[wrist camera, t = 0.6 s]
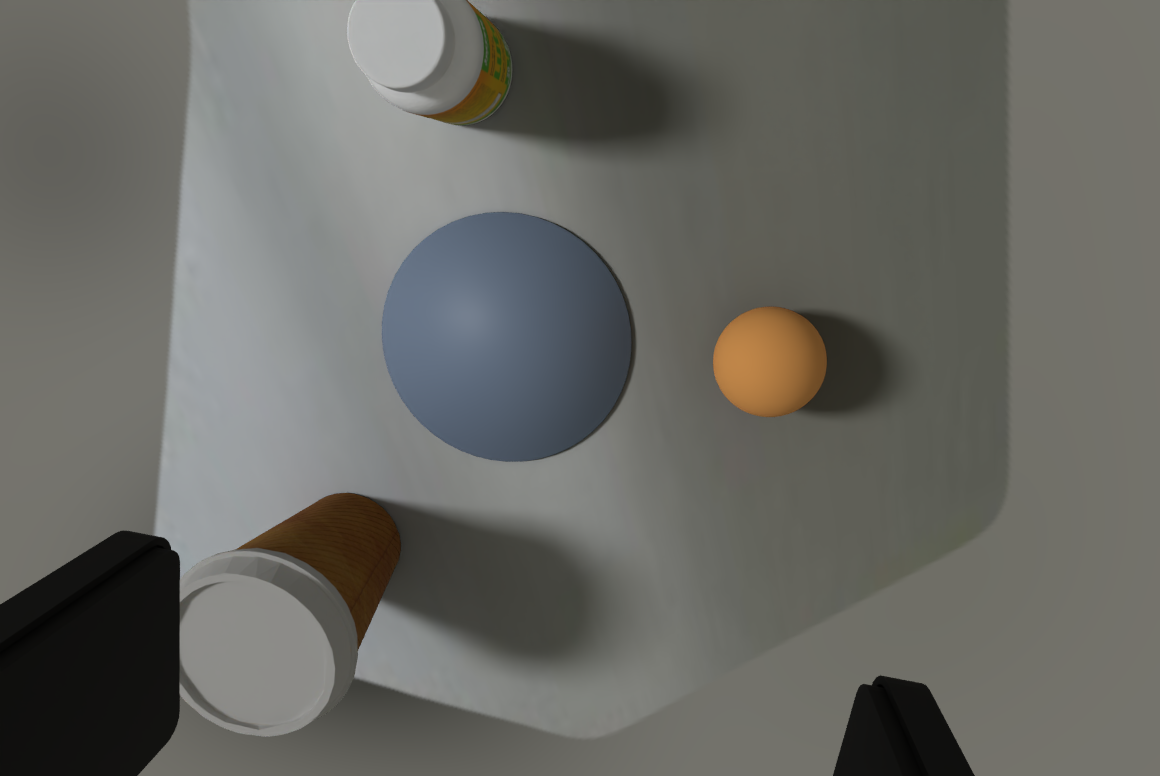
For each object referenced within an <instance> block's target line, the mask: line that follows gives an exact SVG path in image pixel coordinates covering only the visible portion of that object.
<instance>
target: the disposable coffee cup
mask: <svg viewBox="0 0 1160 776" xmlns="http://www.w3.org/2000/svg"><path fill="white" fill-rule="evenodd" d="M400 551H401V542H400V536H399V532H398V530H397V528H396V525H395V523H394V521H393V520H392V518H391V517H390V515H389V514H388V513H387V512H386V511H385V510H384V509H383V508H382V507H381V506H379V505H378V504H377V503H376V502H374V501H372V500H370V499H368V498H366V497H363V496H360V495H357V494H351V493H339V494H333V495H330V496H326V497H324V498H322V499H320V500H319V501H317V502H316V503H314V504H312V505H311V506H309V507H307V508H306V509H304V510H302V511H300V512H299V513H297V514H295V515H294V516H292V517H290V518H288V519H287V520H285V521H283V522H282V523H280V524H278V525H276V526H275V527H273V528H271V529H270V530H268V531H266V532H265V533H263V534H261V535H259V536H258V537H256V538H254V539H253V540H251V541H249V542H248V543H246V544H244V545H242V546H241V547H239V548H238V549H236V550H232V551H227V552H223V553H218V554H216V555H213V556H211V557H209V558H207V559H204V560H202V561H201V562H199V563H197V564H196V565H195V566H194V567H192V568H191V569H190V570H189V571H188V572H186V573H185V574H184V575H183V577H182V578H181V579H180V695H181V696H182V698H183V699H184V700H185V701H186V702H187V703H188V704H189V705H190V706H191V707H193V708H194V709H195V710H196V711H197V712H198V713H200V714H201V715H202V716H203V717H204V718H206V719H208V720H210V721H212V722H213V723H215V724H217V725H219V726H221V727H223V728H225V729H228V730H231V731H234V732H237V733H240V734H249V735H257V736H266V737H268V736H275V735H283V734H287V733H290V732H292V731H295V730H298V729H300V728H302V727H303V726H305V725H307V724H308V723H310V722H311V721H313V720H315V719H318V718H320V717H322V716H323V715H325V714H327V713H328V712H329V711H330V710H332V709H333V708H334V707H335V706H336V705H337V704H338V703H339V702H340V700H341V699H342V698H343V697H344V696H345V695H346V692H347V690H348V688H349V686H350V684H351V682H352V680H353V677H354V675H355V669H356V663H357V657H358V649H359V647H360V645H361V642H362V640H363V638H364V636H365V633H366V631H367V629H368V627H369V624H370V622H371V620H372V618H373V615H374V613H375V611H376V609H377V607H378V604H379V602H380V600H381V598H382V595H383V593H384V591H385V589H386V586H387V584H388V582H389V580H390V578H391V575H392V573H393V571H394V568H395V566H396V565H397V563H398V560H399V555H400Z"/></svg>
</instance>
